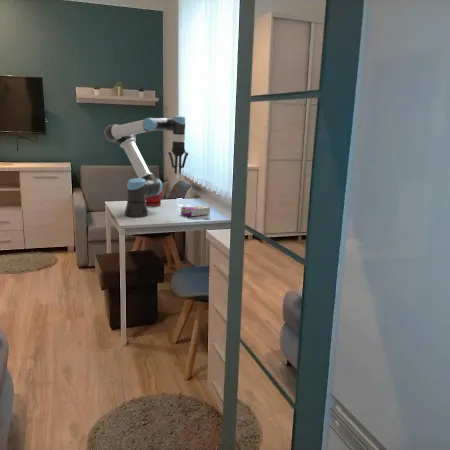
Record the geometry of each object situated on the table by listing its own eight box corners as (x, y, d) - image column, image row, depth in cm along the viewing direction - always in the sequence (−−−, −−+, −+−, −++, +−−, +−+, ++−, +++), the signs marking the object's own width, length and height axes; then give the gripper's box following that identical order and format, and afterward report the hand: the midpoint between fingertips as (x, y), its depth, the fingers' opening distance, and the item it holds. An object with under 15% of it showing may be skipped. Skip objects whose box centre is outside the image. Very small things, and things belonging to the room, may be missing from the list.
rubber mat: (190, 219, 280) (190, 218, 280) (187, 215, 292) (187, 214, 292) (210, 219, 283) (210, 218, 283) (206, 215, 295) (206, 214, 295)
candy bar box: (180, 206, 291) (199, 205, 303) (180, 214, 292) (199, 212, 304) (191, 209, 284) (210, 207, 295) (191, 216, 284) (210, 214, 296)
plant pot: (150, 207, 310) (150, 190, 308) (141, 204, 320) (141, 188, 317) (166, 205, 319) (166, 189, 316) (156, 202, 328) (156, 186, 326)
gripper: (168, 141, 269) (167, 179, 275) (189, 142, 272) (188, 179, 278) (167, 140, 276) (166, 177, 282) (188, 141, 279) (186, 178, 285)
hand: (177, 178), depth 280 cm, fingers closed
